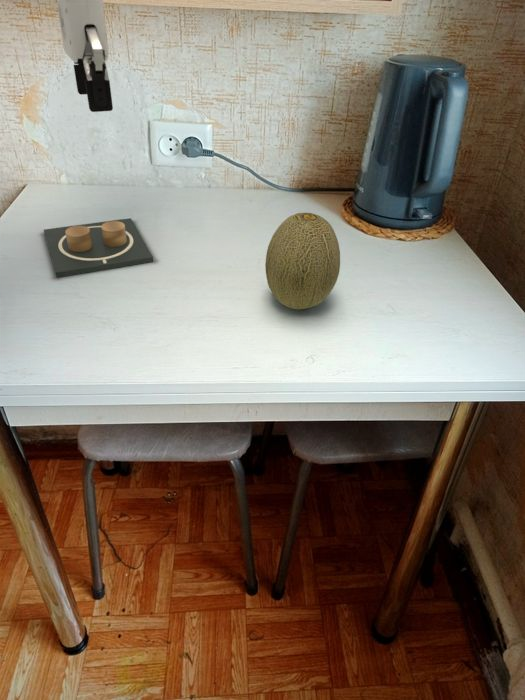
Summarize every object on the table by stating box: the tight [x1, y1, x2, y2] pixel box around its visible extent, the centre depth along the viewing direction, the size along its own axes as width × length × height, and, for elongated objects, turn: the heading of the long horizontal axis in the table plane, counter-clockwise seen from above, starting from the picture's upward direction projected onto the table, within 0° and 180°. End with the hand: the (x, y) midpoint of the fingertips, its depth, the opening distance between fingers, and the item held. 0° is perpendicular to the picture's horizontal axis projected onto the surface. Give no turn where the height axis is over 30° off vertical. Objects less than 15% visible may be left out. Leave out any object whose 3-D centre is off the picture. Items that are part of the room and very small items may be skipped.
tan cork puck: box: [65, 225, 92, 252], centre depth 88 cm, size 4×4×3 cm
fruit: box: [264, 212, 341, 310], centre depth 76 cm, size 11×11×15 cm
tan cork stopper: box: [101, 220, 127, 247], centre depth 90 cm, size 4×4×3 cm
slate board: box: [43, 217, 154, 278], centre depth 91 cm, size 16×16×1 cm
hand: (94, 101), depth 76 cm, fingers open, 9 cm apart
